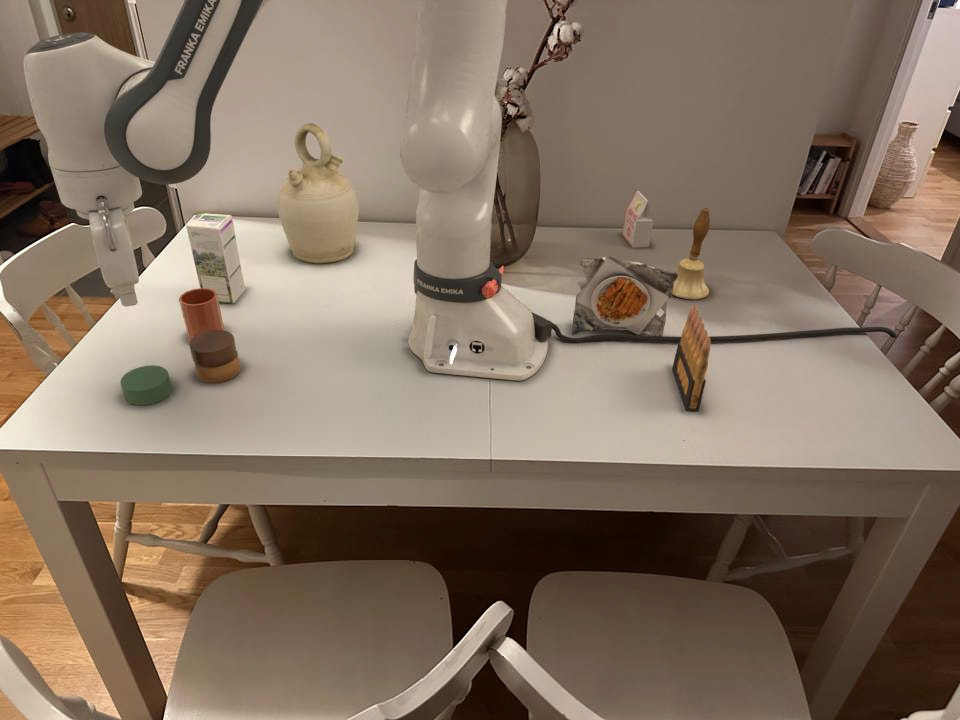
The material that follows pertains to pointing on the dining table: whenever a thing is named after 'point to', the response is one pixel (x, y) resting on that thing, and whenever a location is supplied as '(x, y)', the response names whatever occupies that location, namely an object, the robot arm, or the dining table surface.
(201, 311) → the cup
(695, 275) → the hand bell
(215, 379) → the oak chip
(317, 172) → the jug
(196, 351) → the walnut chip
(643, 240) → the white carton
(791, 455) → the dining table surface
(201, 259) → the syrup box
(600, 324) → the meal
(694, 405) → the ammunition clip
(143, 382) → the green chip
